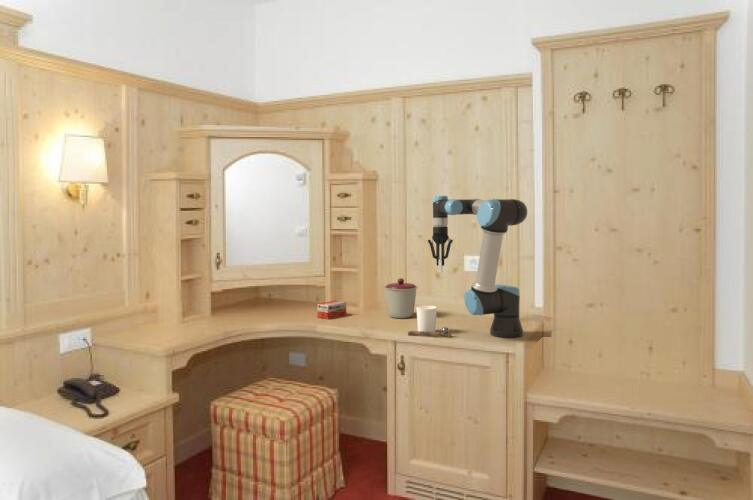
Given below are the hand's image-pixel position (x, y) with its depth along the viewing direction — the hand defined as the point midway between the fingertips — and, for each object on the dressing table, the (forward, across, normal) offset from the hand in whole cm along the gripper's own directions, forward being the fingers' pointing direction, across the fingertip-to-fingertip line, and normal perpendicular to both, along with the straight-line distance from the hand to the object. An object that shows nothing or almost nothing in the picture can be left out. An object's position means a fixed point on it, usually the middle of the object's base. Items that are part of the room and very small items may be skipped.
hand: (440, 272), depth 321 cm
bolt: (+25, -8, +32) cm, 41 cm away
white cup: (+27, +2, +24) cm, 36 cm away
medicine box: (+27, +61, -4) cm, 67 cm away
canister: (+27, +24, -12) cm, 38 cm away
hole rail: (+26, -1, +32) cm, 41 cm away
